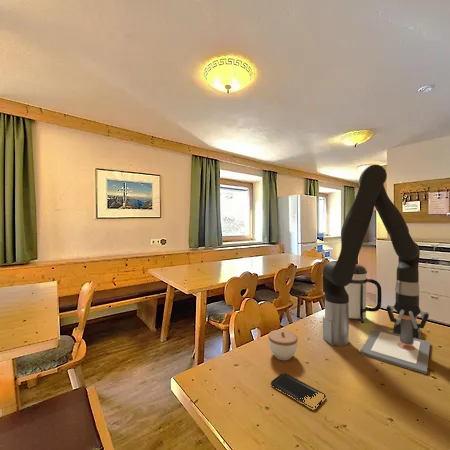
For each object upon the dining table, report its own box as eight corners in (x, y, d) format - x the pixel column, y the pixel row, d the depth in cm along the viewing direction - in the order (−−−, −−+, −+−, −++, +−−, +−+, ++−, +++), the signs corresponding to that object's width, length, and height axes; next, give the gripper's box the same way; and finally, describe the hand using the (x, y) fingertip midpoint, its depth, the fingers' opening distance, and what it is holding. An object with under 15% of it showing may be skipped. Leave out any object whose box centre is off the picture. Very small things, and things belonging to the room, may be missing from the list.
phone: (283, 372, 85) (327, 395, 74) (283, 375, 85) (327, 398, 74) (269, 382, 79) (313, 409, 68) (269, 386, 80) (313, 413, 68)
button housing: (419, 339, 107) (420, 332, 107) (391, 332, 114) (391, 325, 114) (421, 331, 115) (421, 324, 115) (395, 325, 121) (395, 318, 121)
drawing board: (426, 374, 84) (426, 370, 84) (360, 353, 97) (360, 350, 97) (430, 344, 104) (430, 341, 104) (374, 330, 117) (374, 327, 117)
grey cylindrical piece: (407, 345, 97) (407, 317, 97) (396, 339, 102) (396, 312, 101) (417, 344, 98) (417, 316, 98) (406, 338, 103) (406, 311, 102)
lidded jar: (297, 350, 100) (297, 326, 100) (297, 366, 89) (297, 339, 89) (269, 347, 103) (269, 324, 102) (267, 361, 92) (267, 336, 92)
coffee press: (349, 325, 122) (350, 263, 121) (331, 313, 138) (331, 258, 137) (382, 323, 124) (383, 262, 123) (360, 311, 140) (361, 257, 139)
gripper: (430, 293, 97) (430, 337, 98) (387, 286, 107) (386, 326, 107) (430, 298, 92) (429, 344, 92) (384, 291, 101) (383, 333, 101)
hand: (406, 334), depth 100 cm, fingers closed on grey cylindrical piece, 4 cm apart
